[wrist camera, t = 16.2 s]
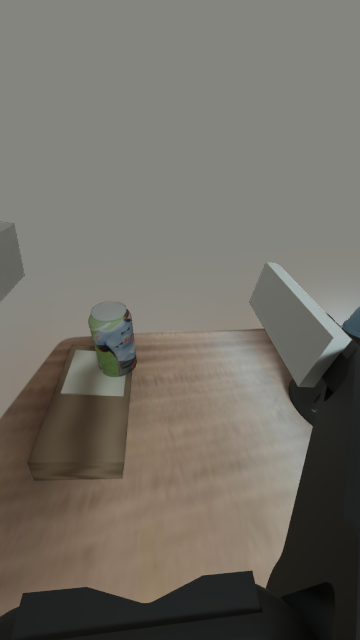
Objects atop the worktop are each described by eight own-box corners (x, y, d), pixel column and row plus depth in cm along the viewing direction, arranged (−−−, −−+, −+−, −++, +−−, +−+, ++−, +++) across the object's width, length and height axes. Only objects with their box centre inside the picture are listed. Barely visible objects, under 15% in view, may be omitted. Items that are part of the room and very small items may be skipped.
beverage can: (136, 381, 40) (142, 323, 33) (88, 382, 38) (84, 321, 31) (135, 354, 45) (140, 298, 38) (93, 354, 43) (90, 295, 36)
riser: (132, 367, 49) (134, 348, 46) (122, 478, 33) (124, 460, 30) (74, 363, 47) (72, 343, 44) (34, 480, 31) (27, 461, 28)
